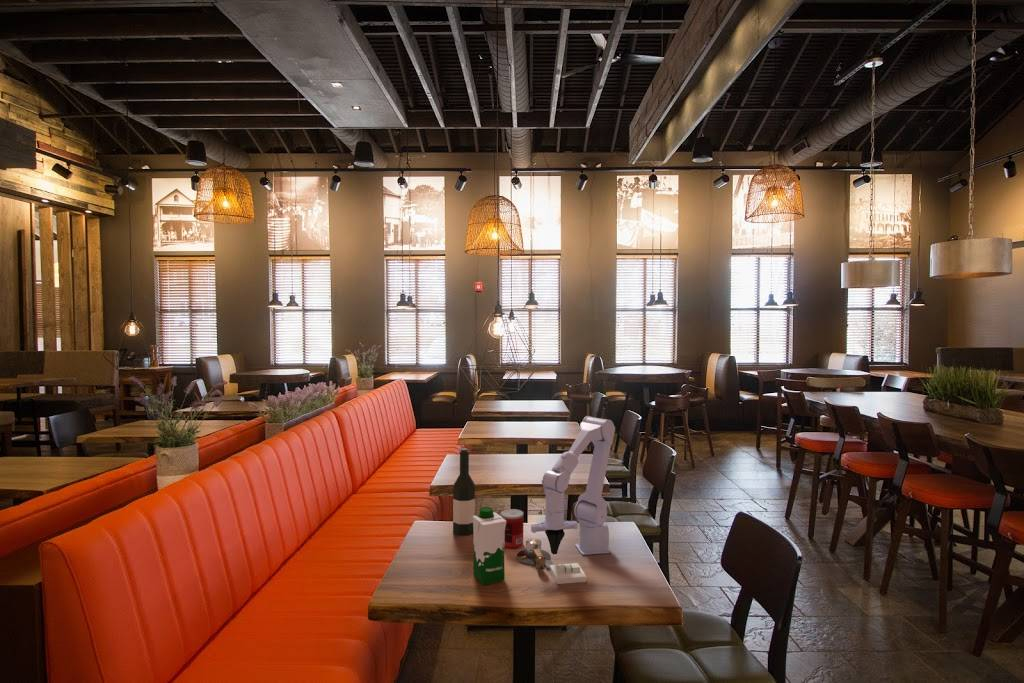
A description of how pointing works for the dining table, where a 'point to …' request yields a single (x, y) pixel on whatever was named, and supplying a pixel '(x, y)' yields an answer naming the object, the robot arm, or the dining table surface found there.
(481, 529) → the milk carton
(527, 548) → the round-headed metal tool
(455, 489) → the wine bottle
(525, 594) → the dining table surface
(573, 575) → the stand board
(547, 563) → the dial base
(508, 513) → the canned food
